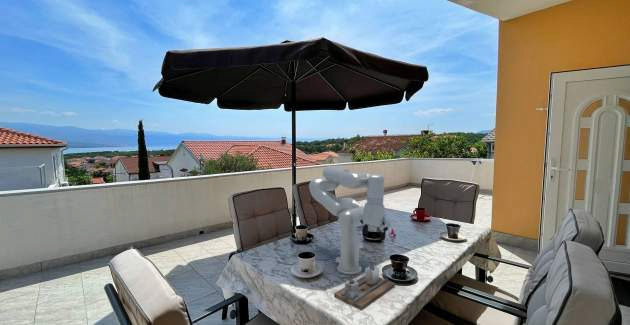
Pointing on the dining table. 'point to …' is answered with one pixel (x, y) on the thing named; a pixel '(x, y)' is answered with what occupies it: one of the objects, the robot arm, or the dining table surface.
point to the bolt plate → (363, 292)
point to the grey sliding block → (371, 275)
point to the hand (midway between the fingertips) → (373, 236)
